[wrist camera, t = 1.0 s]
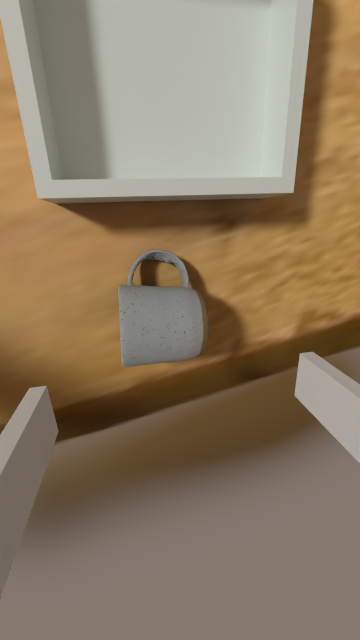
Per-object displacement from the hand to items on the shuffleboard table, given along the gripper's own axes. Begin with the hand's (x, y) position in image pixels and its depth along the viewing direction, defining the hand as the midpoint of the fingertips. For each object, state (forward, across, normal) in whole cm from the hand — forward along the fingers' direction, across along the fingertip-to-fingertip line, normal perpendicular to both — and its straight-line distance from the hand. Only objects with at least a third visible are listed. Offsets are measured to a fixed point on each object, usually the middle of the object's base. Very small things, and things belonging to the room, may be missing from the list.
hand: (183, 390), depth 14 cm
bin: (+16, +2, +19) cm, 25 cm away
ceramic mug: (+16, 0, 0) cm, 17 cm away
